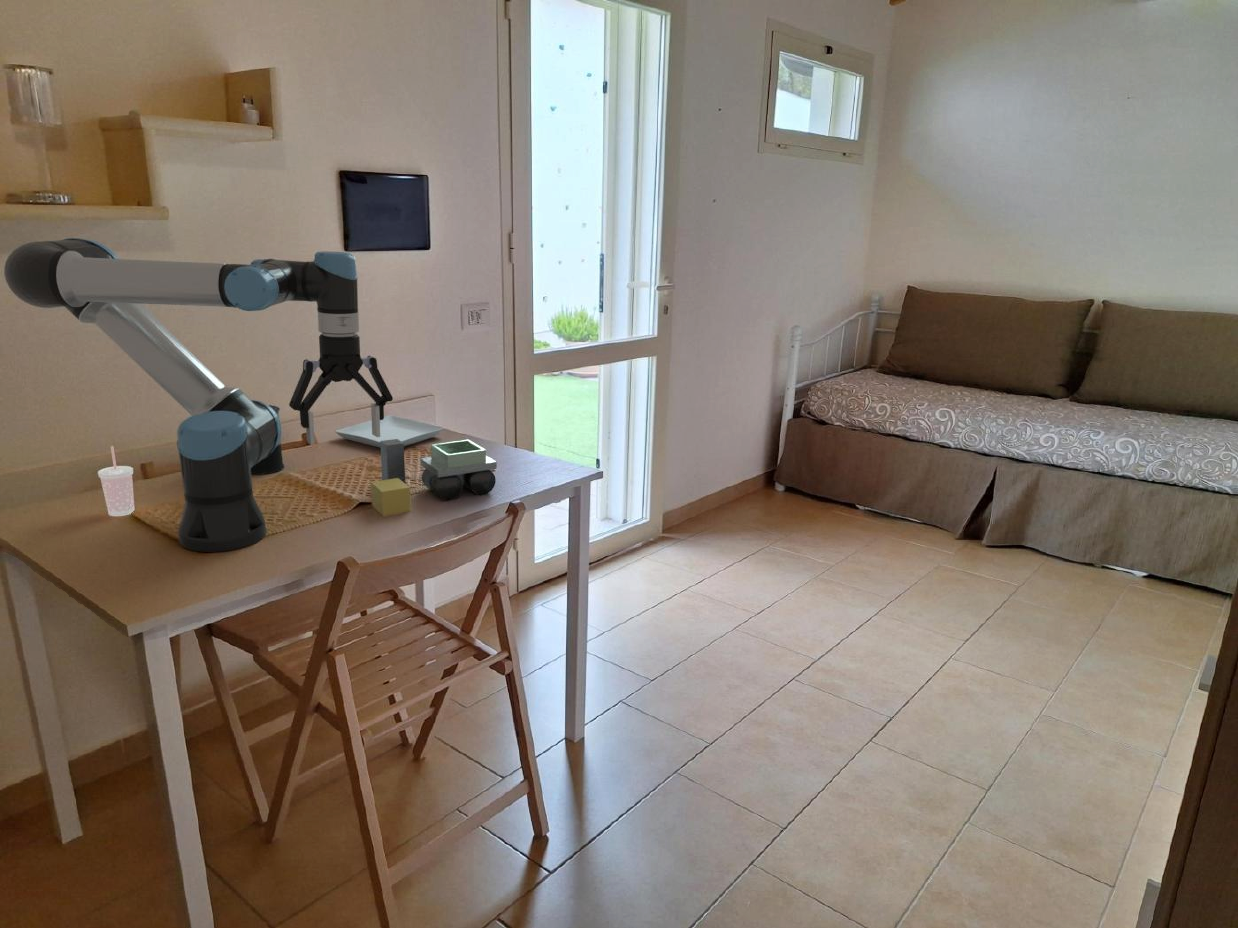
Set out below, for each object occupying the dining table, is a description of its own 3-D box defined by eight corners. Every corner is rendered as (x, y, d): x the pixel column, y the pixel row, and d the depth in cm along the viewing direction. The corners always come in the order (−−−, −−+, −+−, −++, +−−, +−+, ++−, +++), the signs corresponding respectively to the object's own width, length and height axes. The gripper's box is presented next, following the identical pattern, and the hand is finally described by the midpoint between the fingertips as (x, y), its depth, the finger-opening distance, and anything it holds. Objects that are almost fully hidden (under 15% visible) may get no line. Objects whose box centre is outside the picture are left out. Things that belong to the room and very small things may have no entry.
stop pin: (388, 492, 186) (386, 445, 183) (382, 487, 189) (380, 441, 186) (405, 489, 188) (403, 443, 185) (399, 484, 191) (397, 438, 188)
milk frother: (293, 467, 199) (288, 408, 195) (237, 485, 186) (230, 421, 182) (252, 457, 206) (247, 399, 201) (195, 473, 192) (188, 412, 188)
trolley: (438, 503, 181) (437, 457, 177) (421, 489, 188) (420, 445, 185) (496, 493, 188) (496, 449, 185) (477, 480, 196) (477, 438, 193)
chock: (383, 516, 172) (381, 491, 171) (371, 506, 178) (370, 482, 176) (410, 511, 176) (409, 487, 174) (398, 501, 181) (397, 477, 179)
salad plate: (390, 456, 213) (390, 443, 212) (333, 441, 223) (332, 429, 222) (446, 438, 230) (446, 426, 229) (391, 425, 240) (391, 414, 239)
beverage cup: (101, 510, 168) (91, 444, 164) (135, 504, 172) (126, 440, 168) (107, 519, 164) (97, 452, 160) (142, 513, 168) (132, 447, 163)
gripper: (278, 339, 151) (285, 451, 157) (407, 333, 165) (409, 436, 171) (267, 333, 156) (275, 441, 163) (393, 328, 170) (396, 428, 177)
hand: (344, 439), depth 167 cm, fingers open, 12 cm apart
